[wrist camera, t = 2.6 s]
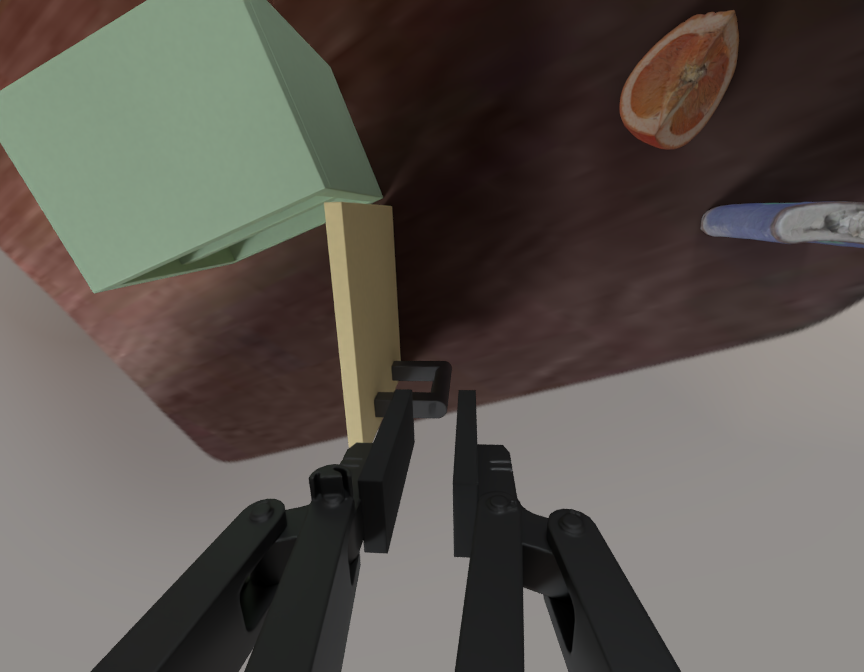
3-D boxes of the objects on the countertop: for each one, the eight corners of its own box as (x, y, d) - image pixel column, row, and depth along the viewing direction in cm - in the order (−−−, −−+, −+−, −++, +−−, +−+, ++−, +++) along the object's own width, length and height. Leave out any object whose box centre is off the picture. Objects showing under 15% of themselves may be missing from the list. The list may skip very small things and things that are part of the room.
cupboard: (383, 198, 35) (325, 188, 21) (233, 263, 38) (93, 293, 24) (330, 66, 33) (222, -47, 19) (173, 147, 36) (-24, 104, 22)
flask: (695, 235, 34) (792, 244, 24) (704, 199, 33) (809, 192, 23) (809, 244, 33) (960, 257, 23) (822, 207, 33) (984, 203, 22)
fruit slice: (661, 18, 30) (697, -18, 25) (735, 66, 30) (784, 39, 26) (593, 128, 32) (615, 113, 28) (662, 171, 33) (695, 164, 28)
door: (451, 204, 35) (438, 198, 21) (453, 374, 40) (444, 462, 26) (381, 206, 36) (323, 202, 22) (391, 373, 40) (350, 460, 26)
